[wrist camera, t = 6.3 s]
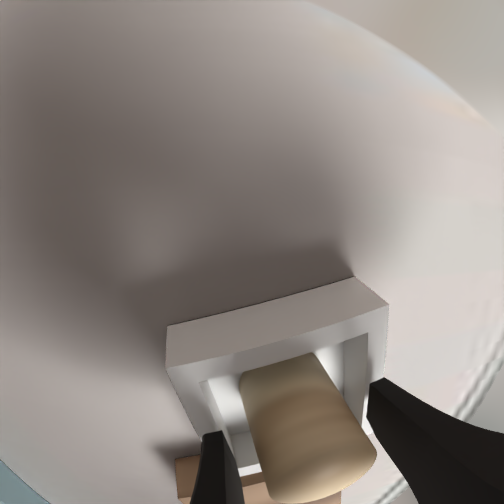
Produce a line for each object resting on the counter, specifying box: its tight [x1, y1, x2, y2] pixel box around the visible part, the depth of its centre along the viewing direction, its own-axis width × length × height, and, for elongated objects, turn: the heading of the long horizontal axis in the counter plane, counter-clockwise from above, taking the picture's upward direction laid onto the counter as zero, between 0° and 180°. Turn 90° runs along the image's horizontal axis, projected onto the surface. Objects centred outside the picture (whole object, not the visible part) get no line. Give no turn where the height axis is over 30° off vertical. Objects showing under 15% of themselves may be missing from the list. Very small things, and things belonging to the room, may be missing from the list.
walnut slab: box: [175, 455, 341, 504], centre depth 14 cm, size 10×8×3 cm
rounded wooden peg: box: [239, 352, 377, 504], centre depth 10 cm, size 4×4×5 cm
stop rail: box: [0, 460, 50, 504], centre depth 11 cm, size 18×2×3 cm, turn 11°
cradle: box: [165, 277, 389, 477], centre depth 11 cm, size 7×7×2 cm
